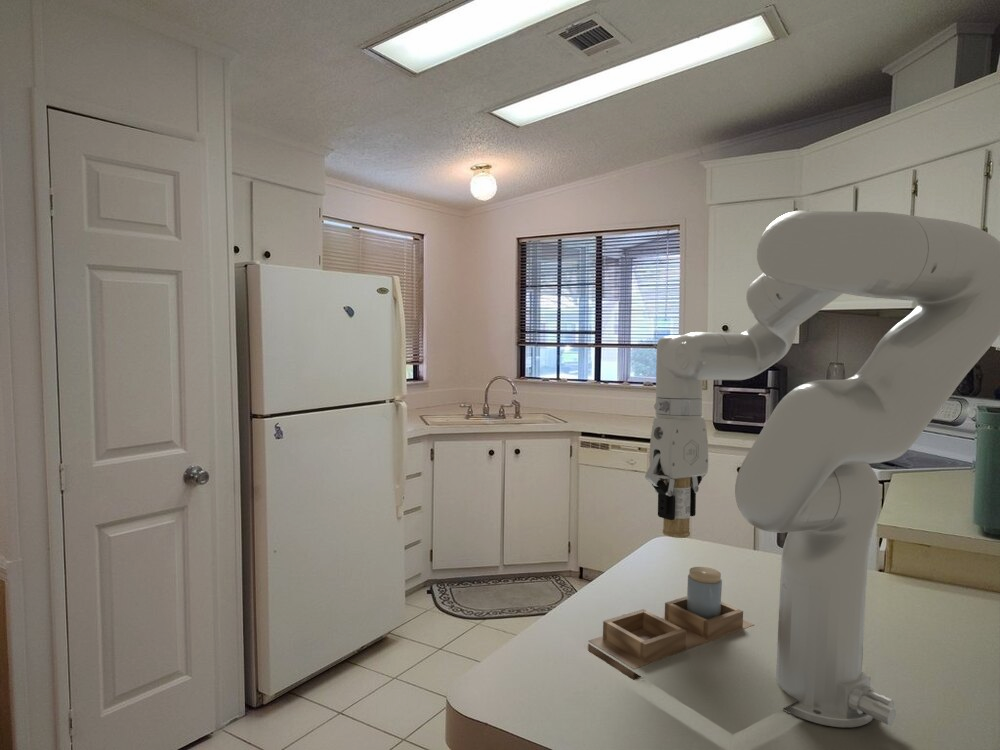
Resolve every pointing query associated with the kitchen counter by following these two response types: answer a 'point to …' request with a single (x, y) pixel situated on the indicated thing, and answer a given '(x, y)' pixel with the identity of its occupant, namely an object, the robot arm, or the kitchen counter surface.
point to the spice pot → (704, 592)
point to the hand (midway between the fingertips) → (676, 515)
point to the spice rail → (661, 634)
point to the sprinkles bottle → (679, 510)
